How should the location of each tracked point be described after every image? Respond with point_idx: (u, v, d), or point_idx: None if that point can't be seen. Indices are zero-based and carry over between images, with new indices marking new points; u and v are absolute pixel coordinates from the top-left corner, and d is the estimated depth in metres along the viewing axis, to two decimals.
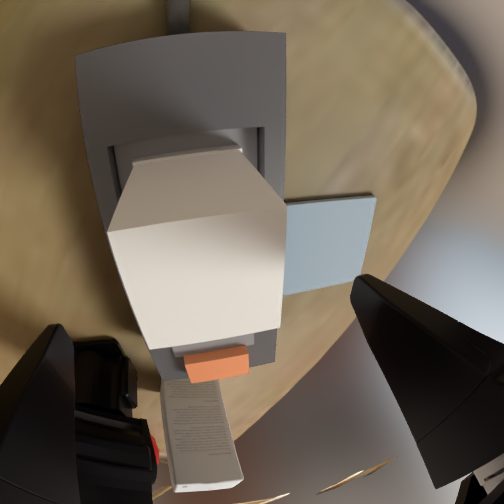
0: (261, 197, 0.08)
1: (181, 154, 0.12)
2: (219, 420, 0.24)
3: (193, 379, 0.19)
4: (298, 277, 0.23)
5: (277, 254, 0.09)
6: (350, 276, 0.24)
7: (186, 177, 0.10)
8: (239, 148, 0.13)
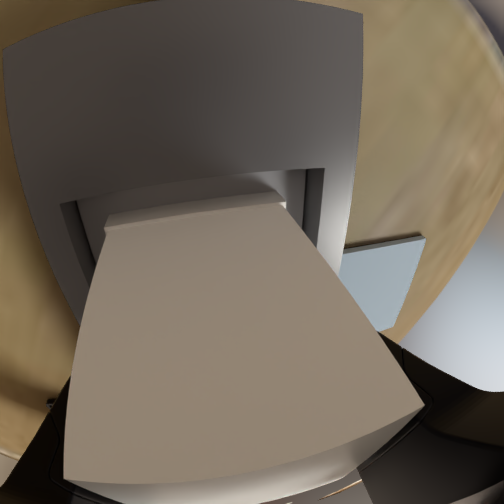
0: (372, 377, 0.04)
1: (185, 212, 0.08)
2: None
3: None
4: None
5: (376, 447, 0.04)
6: (384, 325, 0.20)
7: (200, 292, 0.05)
8: (281, 201, 0.08)
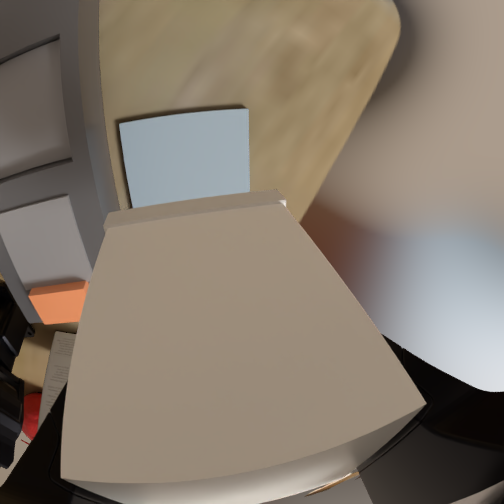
0: (373, 376, 0.03)
1: (185, 210, 0.07)
2: None
3: (43, 318, 0.15)
4: None
5: (377, 446, 0.04)
6: None
7: (199, 290, 0.05)
8: (281, 199, 0.08)
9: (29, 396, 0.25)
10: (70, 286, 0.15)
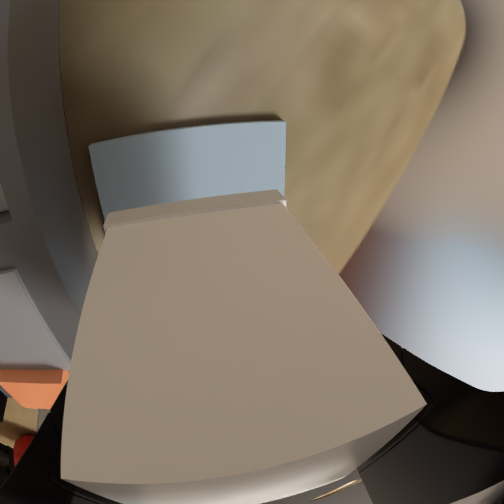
0: (373, 376, 0.03)
1: (185, 210, 0.07)
2: None
3: (21, 402, 0.10)
4: None
5: (377, 446, 0.04)
6: None
7: (200, 290, 0.05)
8: (281, 199, 0.08)
9: (23, 440, 0.20)
10: (44, 376, 0.10)
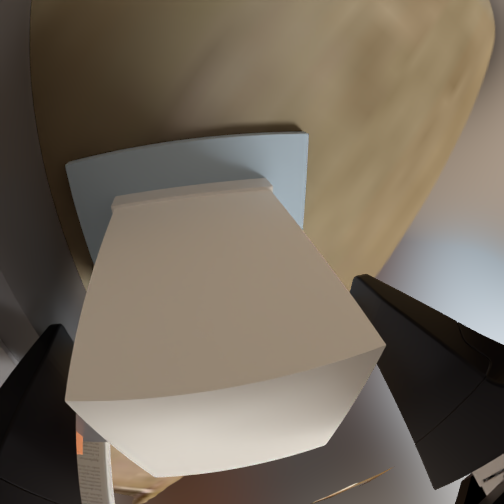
0: (337, 319, 0.04)
1: (183, 194, 0.08)
2: (96, 486, 0.12)
3: None
4: None
5: (349, 396, 0.05)
6: None
7: (194, 253, 0.06)
8: (268, 185, 0.09)
9: None
10: None
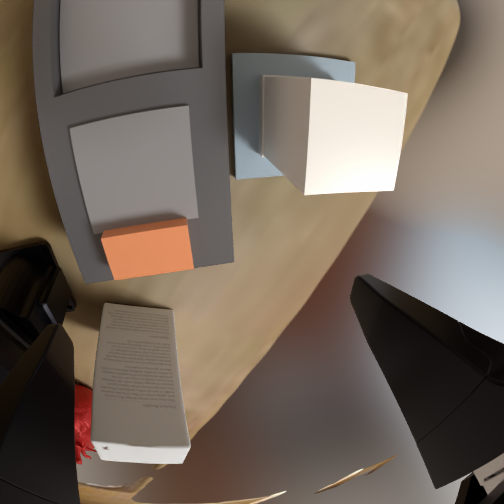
0: None
1: None
2: (166, 361, 0.19)
3: (116, 271, 0.14)
4: None
5: (400, 124, 0.11)
6: None
7: None
8: None
9: None
10: (165, 224, 0.14)
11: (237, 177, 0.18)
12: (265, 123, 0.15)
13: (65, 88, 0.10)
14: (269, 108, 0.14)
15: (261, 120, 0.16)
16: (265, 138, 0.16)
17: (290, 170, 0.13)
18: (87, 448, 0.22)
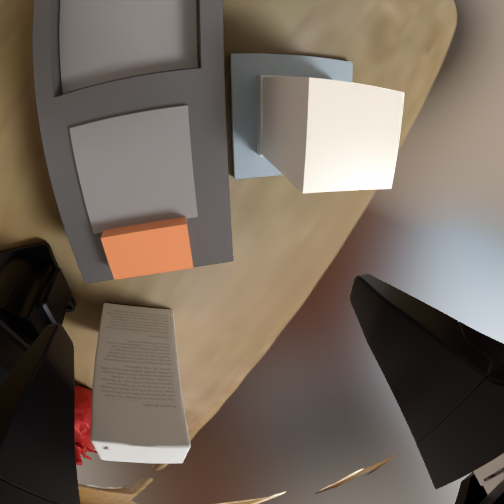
0: None
1: None
2: (166, 361, 0.19)
3: (115, 270, 0.14)
4: None
5: (397, 123, 0.11)
6: None
7: None
8: None
9: None
10: (165, 223, 0.14)
11: (236, 177, 0.18)
12: (263, 123, 0.15)
13: (64, 88, 0.10)
14: (268, 108, 0.14)
15: (259, 120, 0.16)
16: (263, 137, 0.16)
17: (288, 169, 0.13)
18: (87, 449, 0.22)
